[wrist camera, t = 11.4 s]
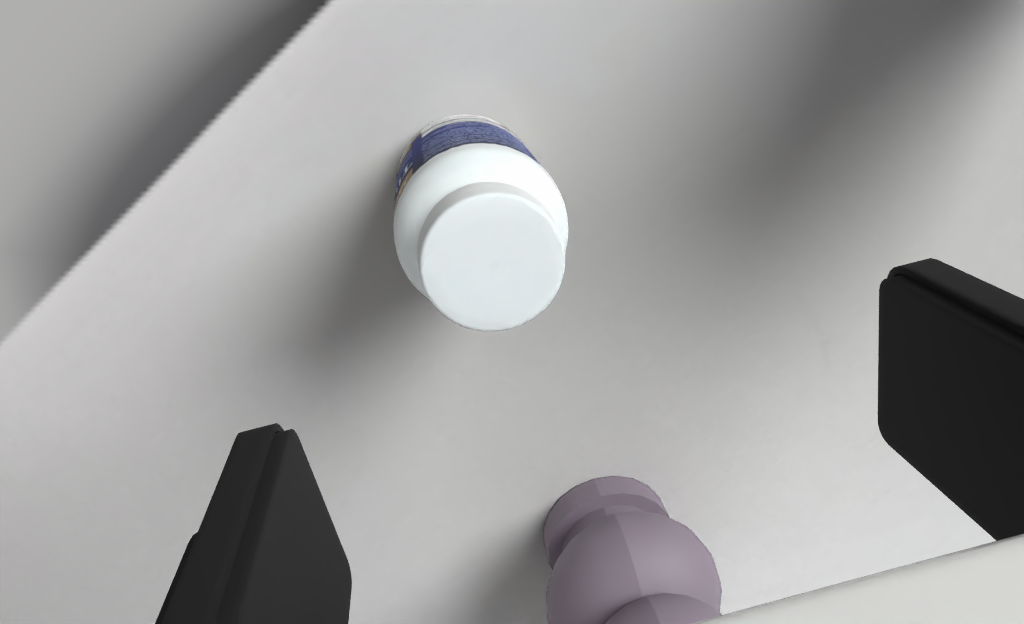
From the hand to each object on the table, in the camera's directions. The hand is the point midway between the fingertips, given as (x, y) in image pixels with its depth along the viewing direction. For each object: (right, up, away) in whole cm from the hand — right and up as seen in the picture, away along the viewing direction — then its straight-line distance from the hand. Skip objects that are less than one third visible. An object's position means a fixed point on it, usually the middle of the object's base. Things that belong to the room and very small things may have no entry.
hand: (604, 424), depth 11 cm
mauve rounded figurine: (+3, -9, +25) cm, 27 cm away
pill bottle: (-3, +7, +17) cm, 19 cm away
